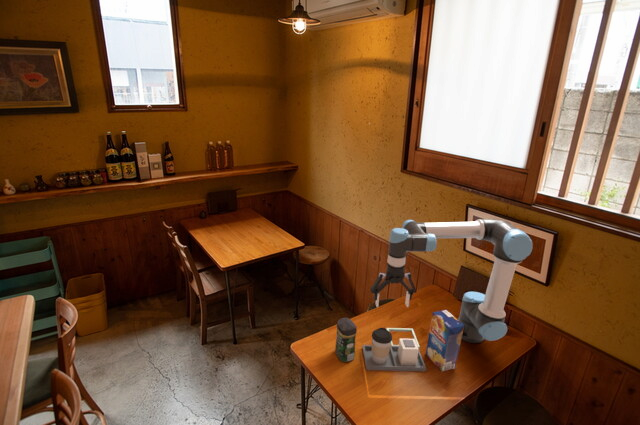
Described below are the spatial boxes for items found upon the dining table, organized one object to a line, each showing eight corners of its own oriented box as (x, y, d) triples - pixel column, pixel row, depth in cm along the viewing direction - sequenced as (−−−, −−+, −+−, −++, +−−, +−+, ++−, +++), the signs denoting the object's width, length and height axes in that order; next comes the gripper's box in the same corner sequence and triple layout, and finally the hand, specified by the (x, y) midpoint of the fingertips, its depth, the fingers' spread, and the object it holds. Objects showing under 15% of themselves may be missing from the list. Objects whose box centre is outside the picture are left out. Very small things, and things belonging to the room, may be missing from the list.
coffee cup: (389, 368, 157) (392, 340, 152) (368, 364, 158) (371, 337, 153) (389, 354, 165) (392, 327, 160) (370, 350, 167) (372, 324, 162)
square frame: (412, 330, 183) (412, 328, 183) (419, 349, 170) (419, 346, 170) (386, 330, 183) (386, 327, 182) (391, 348, 170) (391, 346, 170)
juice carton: (455, 369, 159) (464, 325, 151) (441, 373, 156) (450, 328, 148) (438, 351, 169) (446, 309, 161) (425, 355, 167) (432, 312, 159)
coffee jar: (332, 350, 167) (334, 317, 161) (347, 346, 170) (349, 314, 164) (341, 364, 159) (344, 330, 153) (356, 360, 162) (360, 326, 156)
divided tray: (416, 351, 169) (417, 346, 168) (425, 373, 156) (426, 367, 155) (362, 350, 168) (362, 344, 167) (366, 371, 156) (366, 366, 155)
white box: (412, 354, 166) (414, 338, 162) (416, 365, 159) (418, 348, 156) (397, 354, 165) (399, 337, 162) (400, 365, 159) (403, 348, 156)
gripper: (422, 259, 155) (416, 300, 162) (365, 259, 154) (363, 300, 161) (427, 267, 148) (421, 310, 155) (368, 267, 147) (365, 310, 154)
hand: (391, 305), depth 158 cm, fingers open, 13 cm apart
